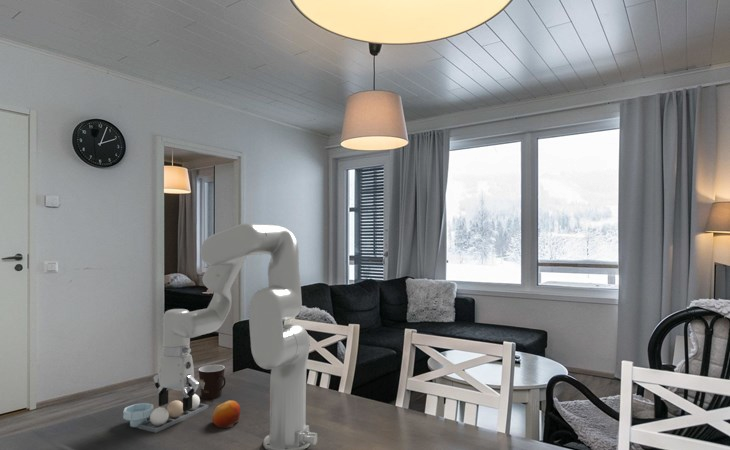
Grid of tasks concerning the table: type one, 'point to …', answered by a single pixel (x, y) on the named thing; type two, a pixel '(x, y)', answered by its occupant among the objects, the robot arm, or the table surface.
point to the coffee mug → (211, 381)
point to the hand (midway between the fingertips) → (175, 407)
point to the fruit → (226, 414)
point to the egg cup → (137, 413)
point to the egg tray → (171, 420)
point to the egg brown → (175, 409)
